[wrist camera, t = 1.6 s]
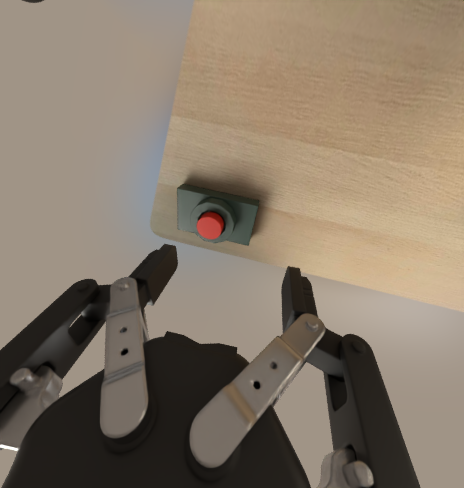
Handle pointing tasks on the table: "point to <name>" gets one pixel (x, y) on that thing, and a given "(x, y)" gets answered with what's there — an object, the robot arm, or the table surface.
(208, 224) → the stop button
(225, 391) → the robot arm
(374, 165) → the table surface
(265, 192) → the table surface
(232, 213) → the control pad
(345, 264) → the table surface
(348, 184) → the table surface
